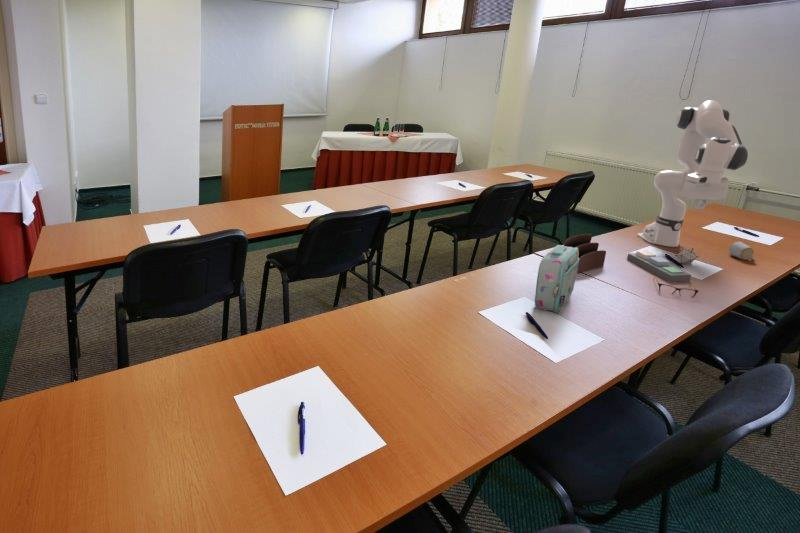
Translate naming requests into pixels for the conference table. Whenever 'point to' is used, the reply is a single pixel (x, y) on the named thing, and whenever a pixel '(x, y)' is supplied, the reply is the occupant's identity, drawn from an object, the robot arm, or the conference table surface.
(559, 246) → the lunch box
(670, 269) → the green button
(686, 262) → the game die
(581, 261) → the letter holder
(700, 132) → the robot arm
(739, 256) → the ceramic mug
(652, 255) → the cream button
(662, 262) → the slate blue button
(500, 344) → the conference table surface
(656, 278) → the eyeglasses
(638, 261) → the button panel
